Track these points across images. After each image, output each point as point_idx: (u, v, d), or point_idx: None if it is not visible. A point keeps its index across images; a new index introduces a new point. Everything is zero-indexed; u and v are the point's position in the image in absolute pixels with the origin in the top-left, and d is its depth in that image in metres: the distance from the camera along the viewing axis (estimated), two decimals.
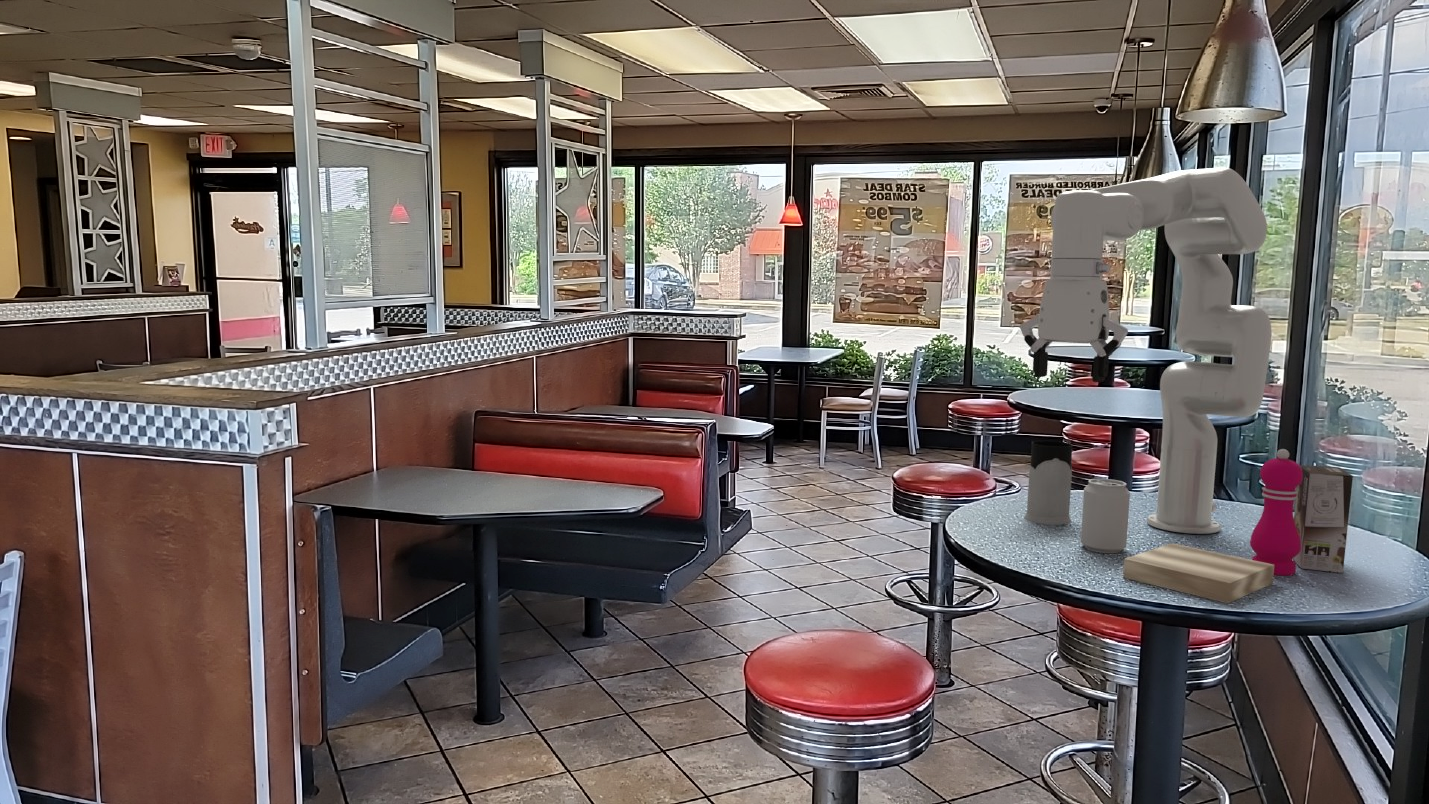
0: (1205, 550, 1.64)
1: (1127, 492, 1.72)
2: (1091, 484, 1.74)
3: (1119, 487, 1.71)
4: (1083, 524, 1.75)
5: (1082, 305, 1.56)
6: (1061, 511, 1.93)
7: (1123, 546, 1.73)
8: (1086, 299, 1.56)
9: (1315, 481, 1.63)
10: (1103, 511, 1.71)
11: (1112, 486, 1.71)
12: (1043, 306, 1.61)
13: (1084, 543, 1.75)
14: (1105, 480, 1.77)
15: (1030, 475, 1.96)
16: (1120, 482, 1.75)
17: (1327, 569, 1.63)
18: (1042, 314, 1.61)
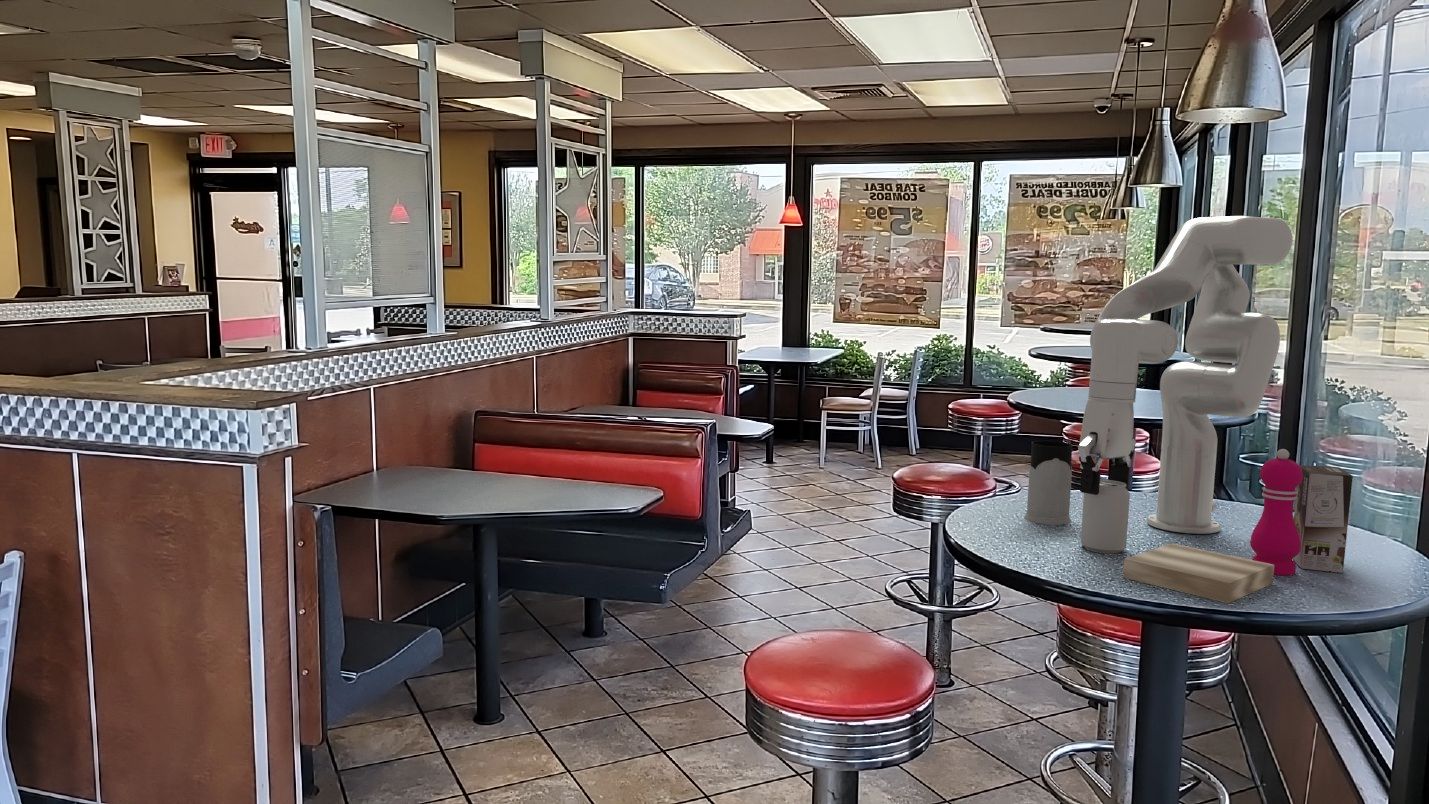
0: (1205, 550, 1.64)
1: (1127, 493, 1.72)
2: None
3: (1119, 488, 1.71)
4: (1083, 525, 1.75)
5: (1130, 424, 1.72)
6: (1061, 511, 1.93)
7: (1123, 547, 1.73)
8: (1131, 418, 1.73)
9: (1315, 481, 1.63)
10: (1103, 512, 1.71)
11: (1112, 487, 1.71)
12: (1109, 427, 1.68)
13: (1084, 544, 1.75)
14: (1105, 481, 1.77)
15: (1030, 475, 1.96)
16: (1120, 483, 1.75)
17: (1327, 569, 1.63)
18: (1108, 435, 1.68)
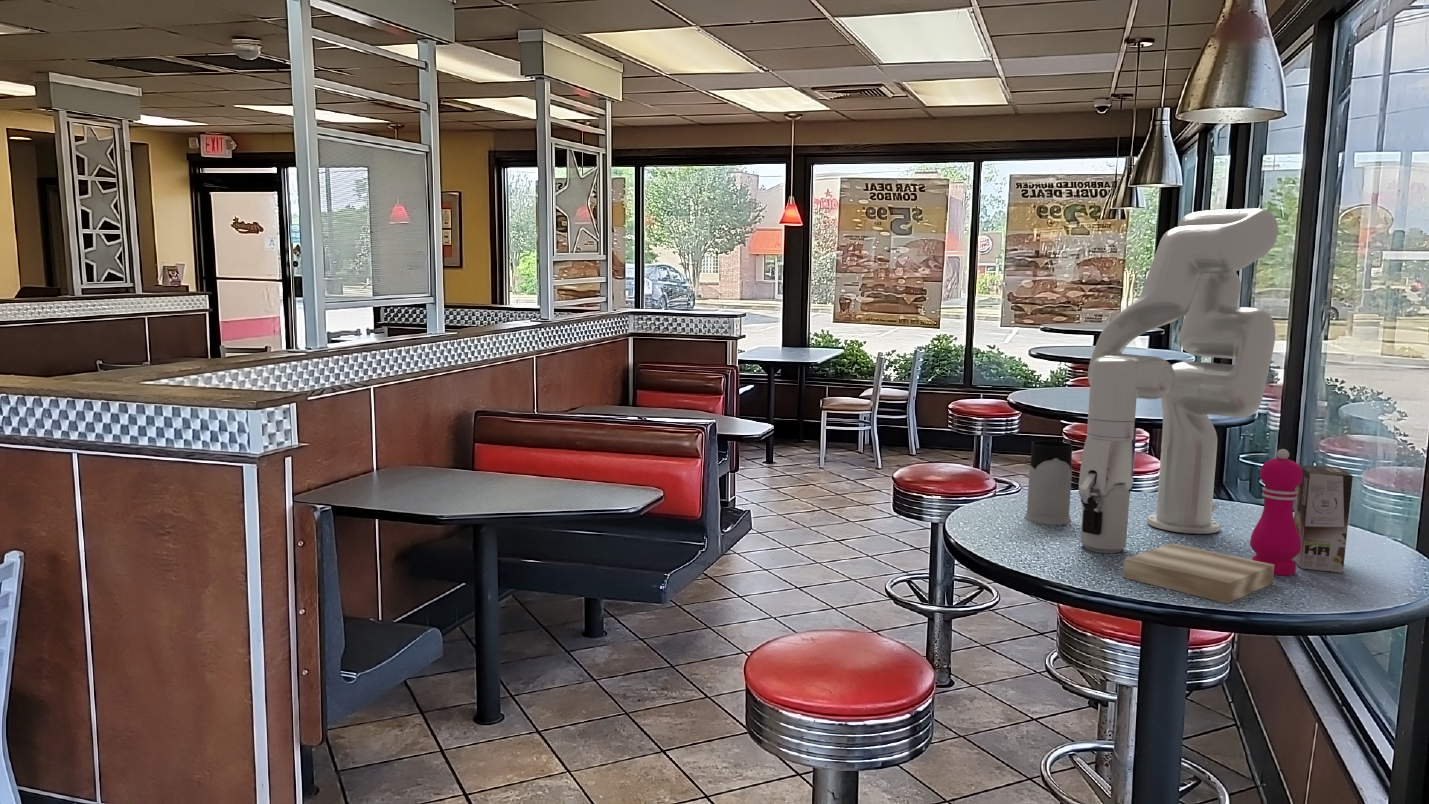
0: (1205, 550, 1.64)
1: (1127, 492, 1.72)
2: None
3: (1119, 487, 1.71)
4: None
5: (1128, 460, 1.73)
6: (1061, 511, 1.93)
7: (1123, 546, 1.73)
8: (1130, 454, 1.74)
9: (1315, 481, 1.63)
10: (1103, 511, 1.71)
11: None
12: (1108, 466, 1.70)
13: (1084, 543, 1.75)
14: None
15: (1030, 475, 1.96)
16: None
17: (1327, 569, 1.63)
18: (1107, 473, 1.70)
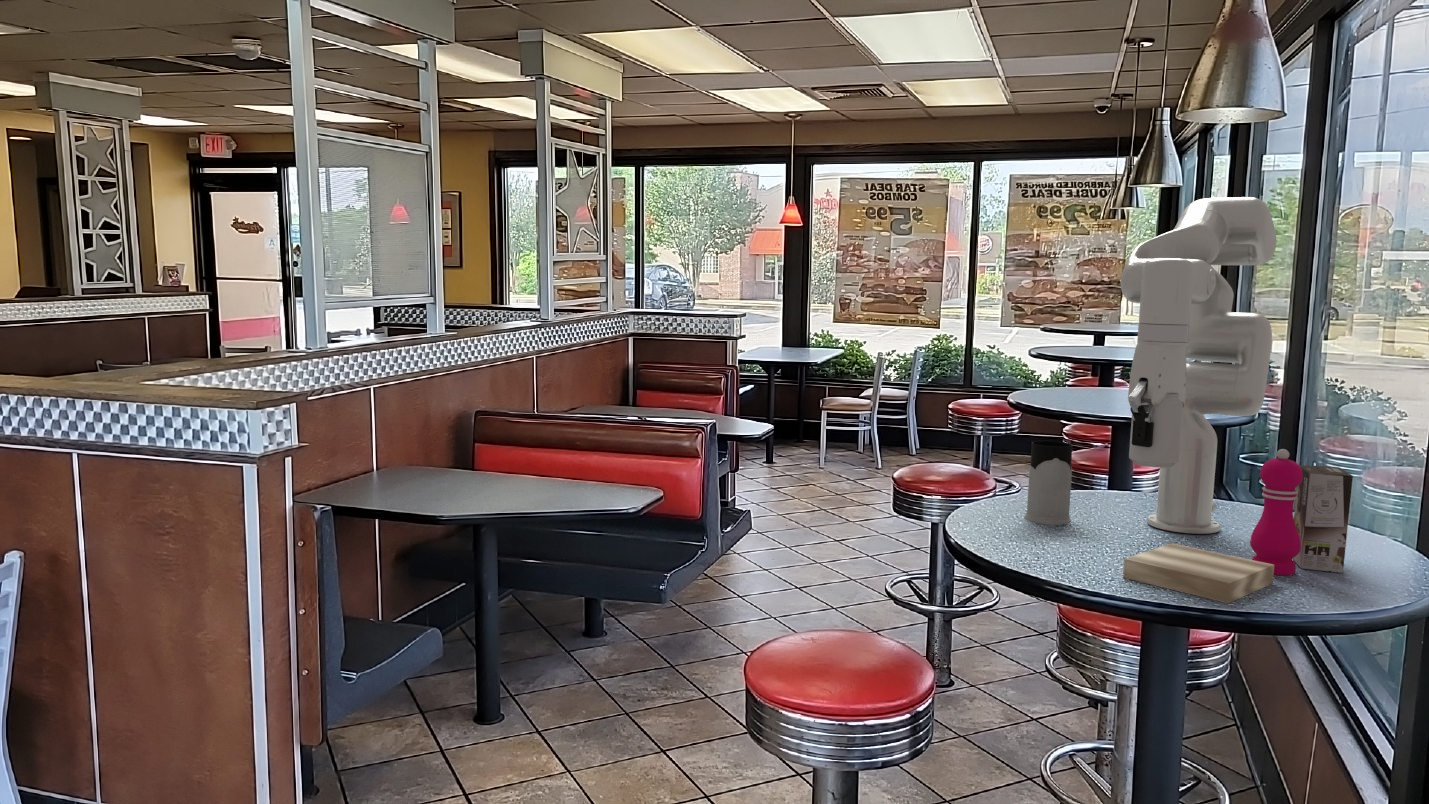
0: (1205, 550, 1.64)
1: (1180, 402, 1.61)
2: None
3: (1171, 396, 1.60)
4: None
5: (1182, 369, 1.62)
6: (1061, 511, 1.93)
7: (1175, 460, 1.61)
8: (1184, 363, 1.63)
9: (1315, 481, 1.63)
10: (1154, 422, 1.60)
11: None
12: (1160, 372, 1.59)
13: (1133, 457, 1.64)
14: None
15: (1030, 475, 1.96)
16: None
17: (1327, 569, 1.63)
18: (1159, 380, 1.59)
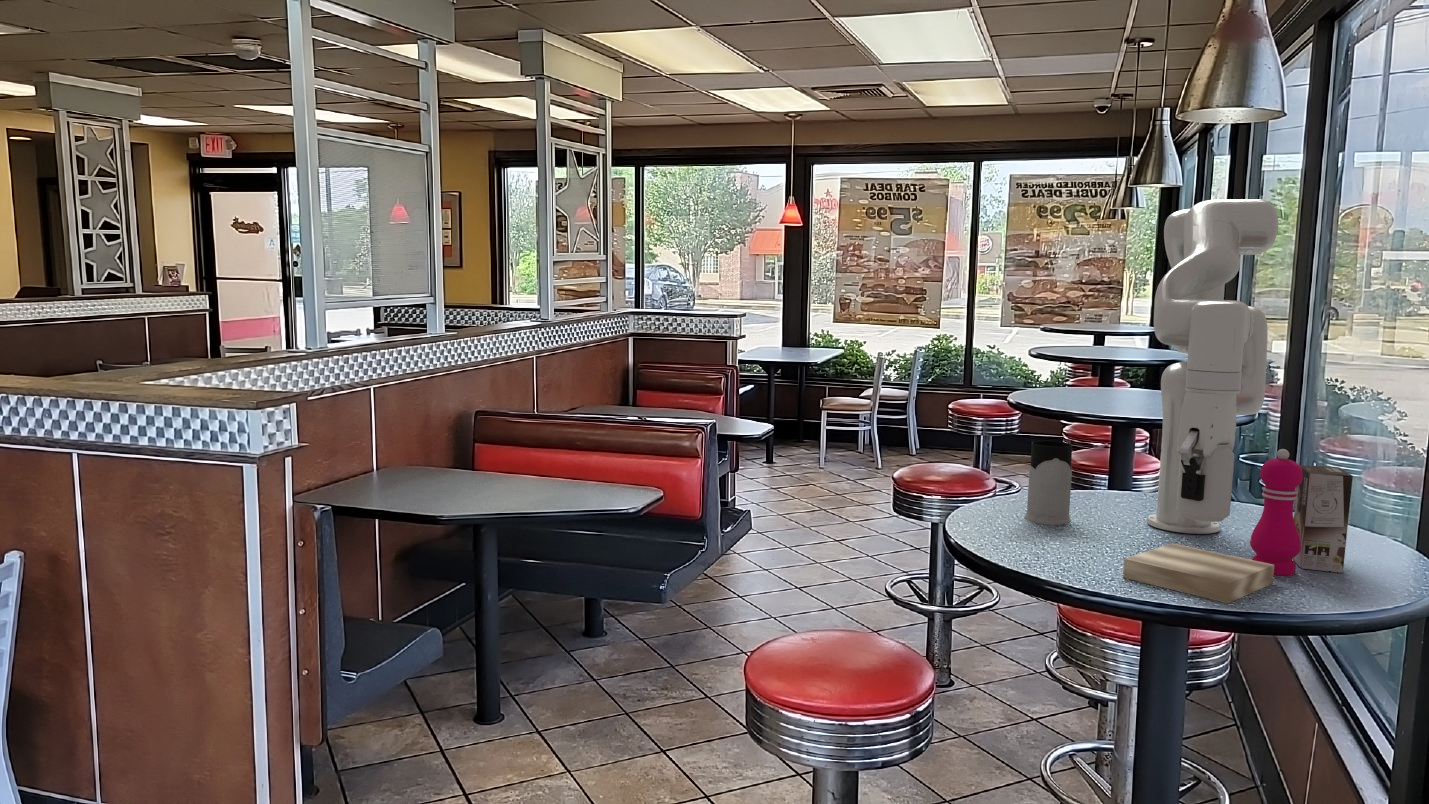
0: (1205, 550, 1.64)
1: (1232, 453, 1.53)
2: None
3: (1223, 447, 1.52)
4: (1180, 489, 1.55)
5: (1233, 417, 1.54)
6: (1061, 511, 1.93)
7: (1227, 514, 1.53)
8: (1234, 411, 1.54)
9: (1315, 481, 1.63)
10: (1205, 474, 1.52)
11: None
12: (1212, 422, 1.50)
13: (1182, 511, 1.55)
14: None
15: (1030, 475, 1.96)
16: None
17: (1327, 569, 1.63)
18: (1212, 431, 1.50)
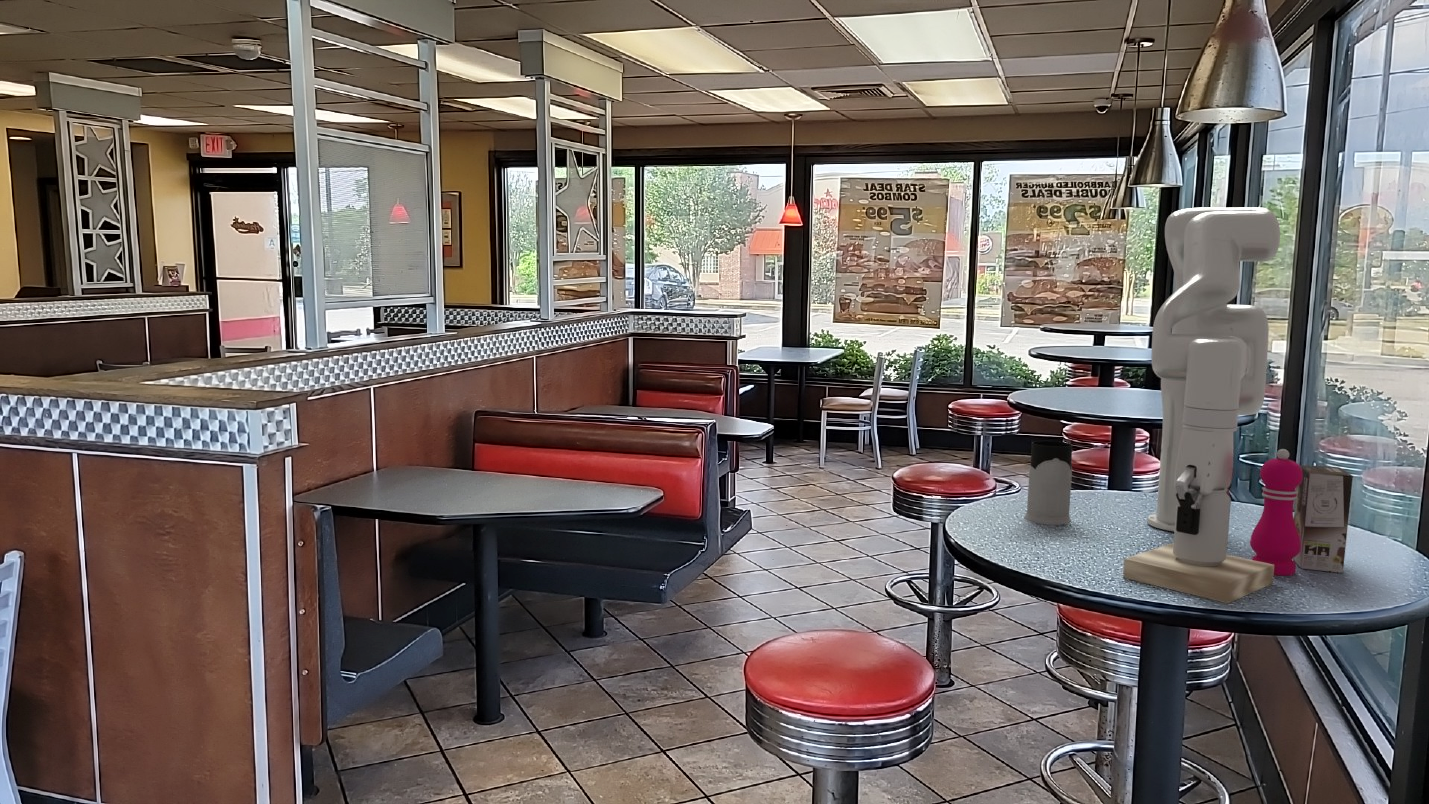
0: None
1: (1228, 498, 1.54)
2: None
3: (1220, 493, 1.53)
4: (1177, 533, 1.57)
5: (1230, 454, 1.55)
6: (1061, 511, 1.93)
7: (1223, 558, 1.54)
8: (1231, 447, 1.55)
9: (1315, 481, 1.63)
10: (1202, 519, 1.53)
11: (1212, 492, 1.53)
12: (1209, 460, 1.51)
13: (1178, 555, 1.56)
14: None
15: (1030, 475, 1.96)
16: None
17: (1327, 569, 1.63)
18: (1209, 468, 1.51)
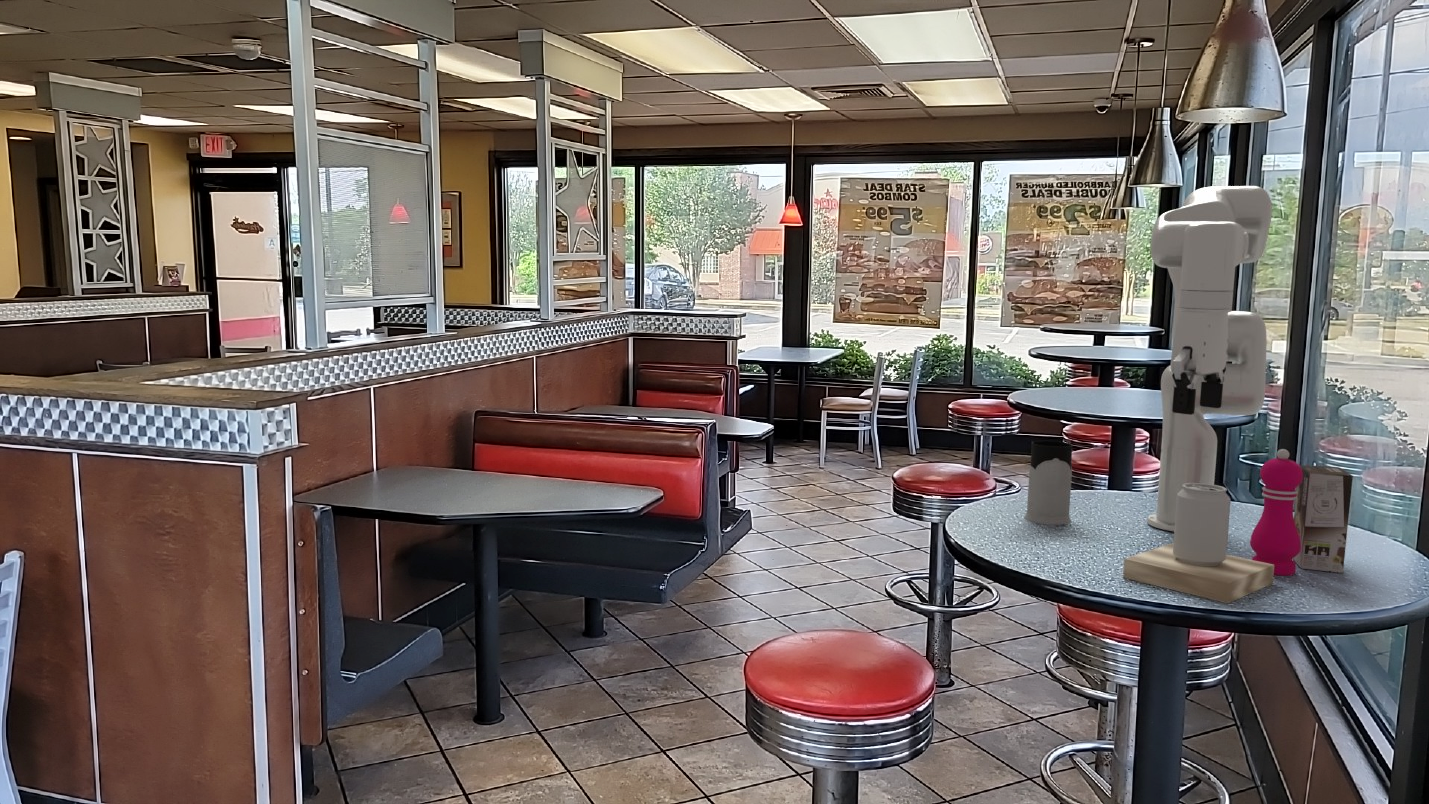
0: None
1: (1228, 498, 1.54)
2: (1186, 489, 1.55)
3: (1219, 492, 1.53)
4: (1177, 534, 1.57)
5: (1225, 336, 1.58)
6: (1061, 511, 1.93)
7: (1223, 558, 1.54)
8: (1226, 330, 1.58)
9: (1315, 481, 1.63)
10: (1201, 519, 1.53)
11: (1211, 492, 1.53)
12: (1205, 340, 1.54)
13: (1178, 555, 1.56)
14: (1200, 484, 1.58)
15: (1030, 475, 1.96)
16: (1218, 487, 1.57)
17: (1327, 569, 1.63)
18: (1204, 349, 1.54)
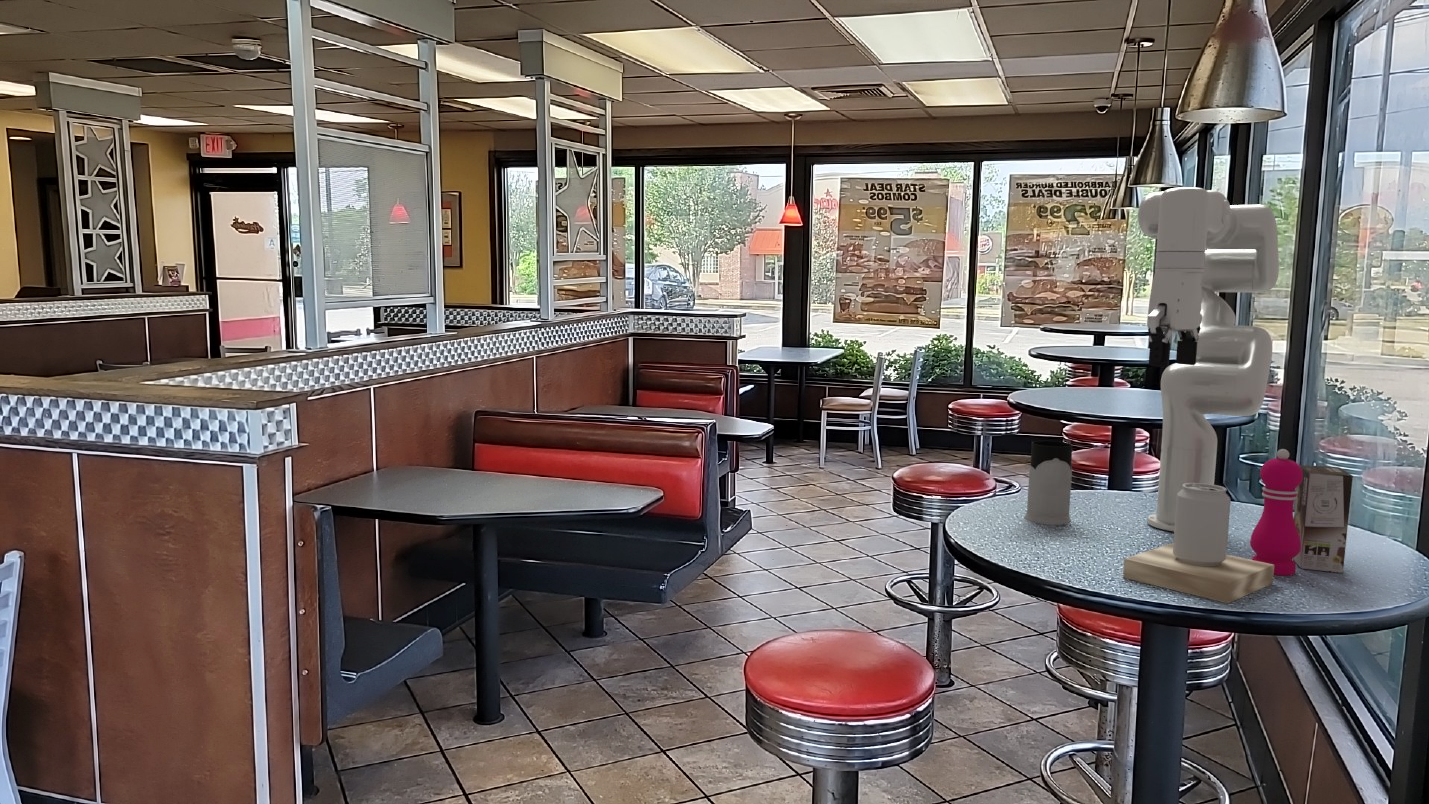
0: None
1: (1228, 498, 1.54)
2: (1186, 489, 1.55)
3: (1219, 492, 1.53)
4: (1177, 534, 1.57)
5: (1198, 295, 1.69)
6: (1061, 511, 1.93)
7: (1223, 558, 1.54)
8: (1199, 290, 1.69)
9: (1315, 481, 1.63)
10: (1201, 519, 1.53)
11: (1211, 492, 1.53)
12: (1179, 297, 1.65)
13: (1178, 555, 1.56)
14: (1200, 484, 1.58)
15: (1030, 475, 1.96)
16: (1218, 487, 1.57)
17: (1327, 569, 1.63)
18: (1178, 305, 1.65)
